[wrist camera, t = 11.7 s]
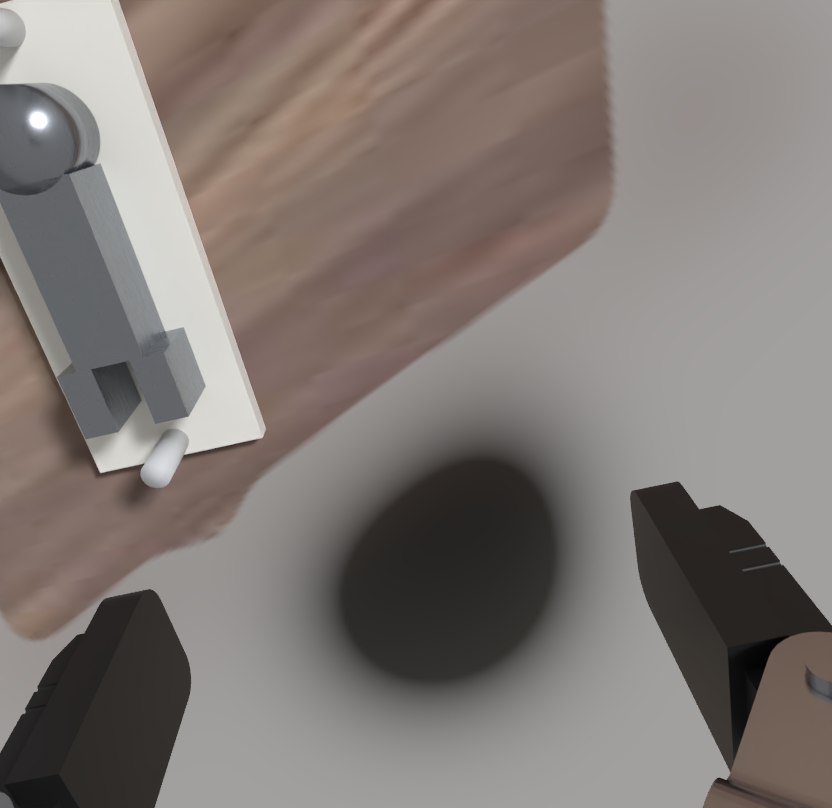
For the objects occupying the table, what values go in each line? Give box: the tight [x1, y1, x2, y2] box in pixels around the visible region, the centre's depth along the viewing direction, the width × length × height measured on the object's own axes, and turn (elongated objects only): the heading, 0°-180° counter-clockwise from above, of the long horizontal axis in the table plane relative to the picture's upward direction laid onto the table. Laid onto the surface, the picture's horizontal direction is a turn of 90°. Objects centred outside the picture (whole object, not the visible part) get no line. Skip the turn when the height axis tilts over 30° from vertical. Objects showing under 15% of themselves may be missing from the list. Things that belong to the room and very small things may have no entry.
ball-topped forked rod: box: [0, 83, 206, 439], centre depth 37 cm, size 17×6×4 cm, turn 13°
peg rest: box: [0, 0, 266, 488], centre depth 37 cm, size 24×10×5 cm, turn 12°
